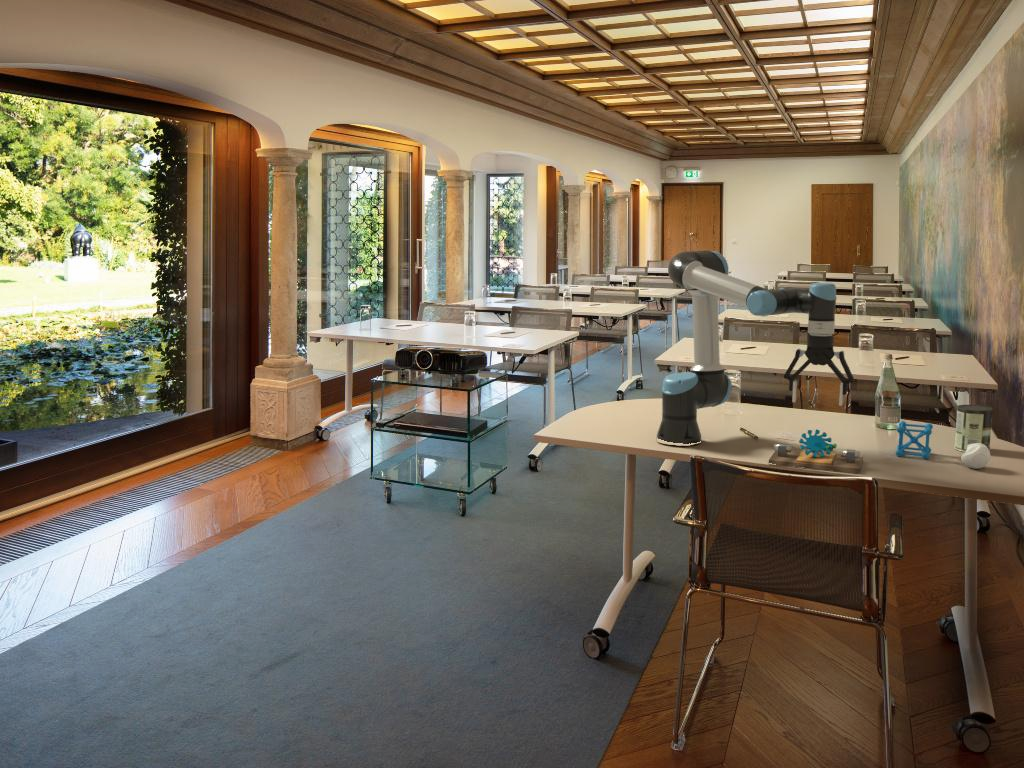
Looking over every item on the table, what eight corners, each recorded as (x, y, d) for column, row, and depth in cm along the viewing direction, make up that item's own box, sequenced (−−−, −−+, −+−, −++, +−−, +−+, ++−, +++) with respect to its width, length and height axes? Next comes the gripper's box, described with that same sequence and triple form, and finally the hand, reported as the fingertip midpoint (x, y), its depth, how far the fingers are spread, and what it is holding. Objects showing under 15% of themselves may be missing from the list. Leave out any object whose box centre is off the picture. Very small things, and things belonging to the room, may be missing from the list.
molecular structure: (894, 457, 272) (896, 426, 270) (897, 449, 280) (899, 420, 279) (929, 460, 267) (931, 429, 265) (931, 453, 276) (933, 422, 274)
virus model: (797, 452, 264) (801, 425, 269) (795, 461, 269) (798, 435, 274) (835, 459, 261) (838, 432, 266) (832, 469, 266) (835, 441, 271)
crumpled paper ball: (963, 463, 263) (965, 438, 262) (991, 467, 258) (993, 442, 257) (957, 469, 257) (959, 444, 256) (986, 473, 252) (988, 447, 251)
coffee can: (979, 445, 284) (982, 404, 281) (996, 453, 274) (999, 410, 271) (947, 446, 284) (951, 404, 282) (963, 454, 274) (966, 410, 271)
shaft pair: (773, 455, 269) (773, 445, 269) (775, 452, 273) (775, 442, 272) (858, 464, 258) (859, 453, 258) (859, 460, 262) (860, 450, 261)
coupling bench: (768, 464, 265) (768, 458, 264) (776, 453, 278) (776, 447, 278) (859, 473, 254) (859, 467, 253) (862, 461, 267) (863, 455, 267)
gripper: (776, 334, 262) (773, 402, 265) (864, 337, 251) (859, 408, 255) (780, 331, 268) (777, 398, 272) (866, 334, 257) (861, 404, 261)
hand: (817, 403), depth 263 cm, fingers open, 13 cm apart
